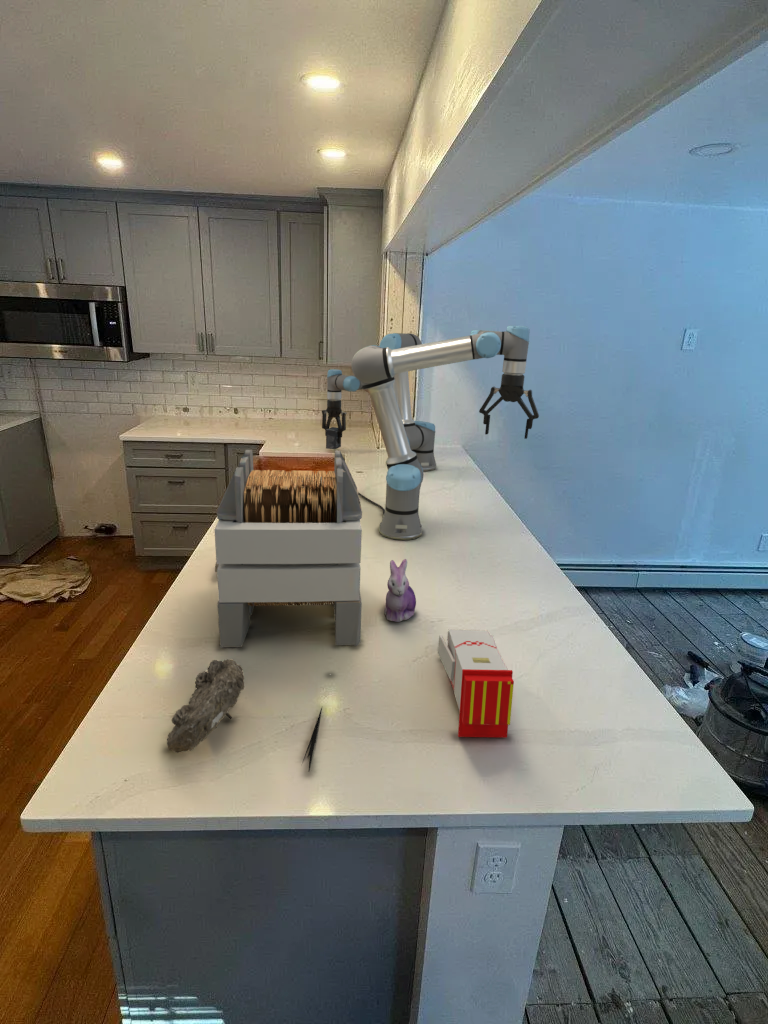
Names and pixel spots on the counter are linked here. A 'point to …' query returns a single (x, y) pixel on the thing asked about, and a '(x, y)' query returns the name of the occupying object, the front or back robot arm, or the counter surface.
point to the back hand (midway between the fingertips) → (333, 442)
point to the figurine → (399, 594)
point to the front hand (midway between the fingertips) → (506, 435)
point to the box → (332, 438)
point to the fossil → (206, 705)
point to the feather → (313, 740)
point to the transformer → (288, 546)
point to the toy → (478, 682)
